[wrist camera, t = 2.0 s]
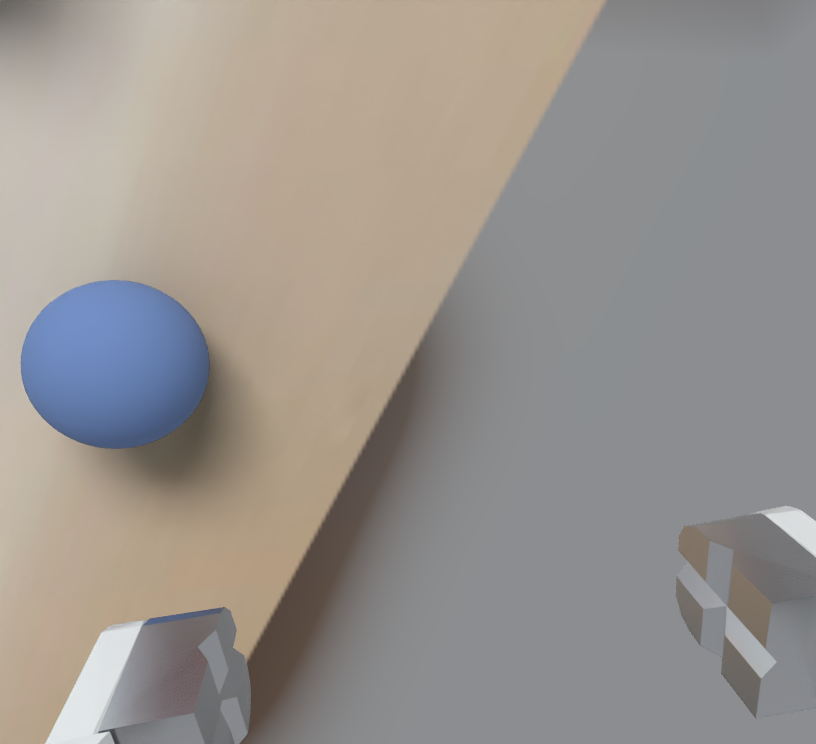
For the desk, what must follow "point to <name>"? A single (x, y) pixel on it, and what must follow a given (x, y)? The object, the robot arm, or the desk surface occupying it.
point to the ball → (115, 364)
